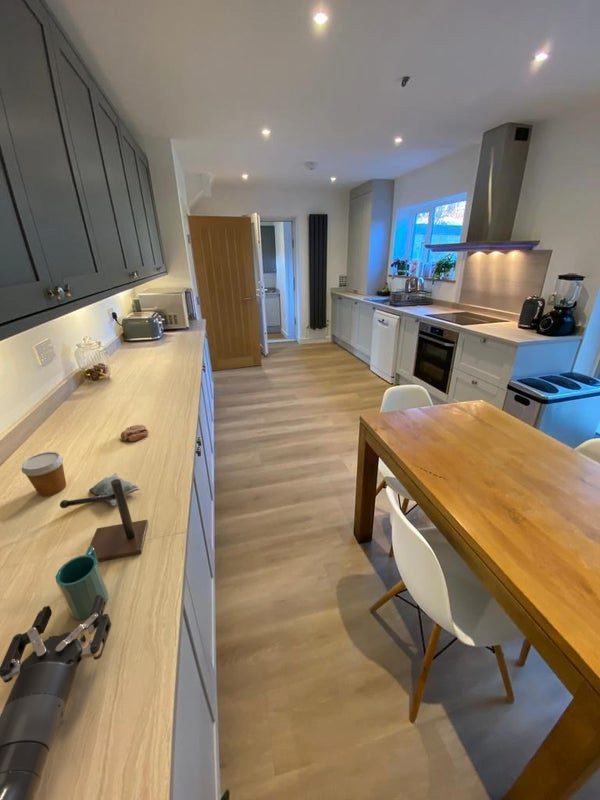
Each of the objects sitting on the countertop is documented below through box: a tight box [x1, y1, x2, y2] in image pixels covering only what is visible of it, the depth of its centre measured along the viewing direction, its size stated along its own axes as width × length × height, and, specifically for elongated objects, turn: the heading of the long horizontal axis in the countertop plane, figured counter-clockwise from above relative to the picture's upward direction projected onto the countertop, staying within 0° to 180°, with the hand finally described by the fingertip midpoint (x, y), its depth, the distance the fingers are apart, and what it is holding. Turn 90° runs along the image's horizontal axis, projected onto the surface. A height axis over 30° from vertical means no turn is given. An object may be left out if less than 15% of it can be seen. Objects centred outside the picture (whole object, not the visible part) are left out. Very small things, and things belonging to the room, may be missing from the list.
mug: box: [55, 545, 110, 621], centre depth 66 cm, size 11×7×10 cm, turn 15°
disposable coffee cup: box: [21, 451, 67, 498], centre depth 93 cm, size 10×10×12 cm
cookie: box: [120, 424, 149, 442], centre depth 126 cm, size 10×11×3 cm
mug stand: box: [59, 479, 149, 563], centre depth 76 cm, size 15×10×18 cm, turn 105°
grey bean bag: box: [88, 473, 141, 507], centre depth 94 cm, size 9×12×5 cm
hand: (74, 603), depth 60 cm, fingers open, 8 cm apart
